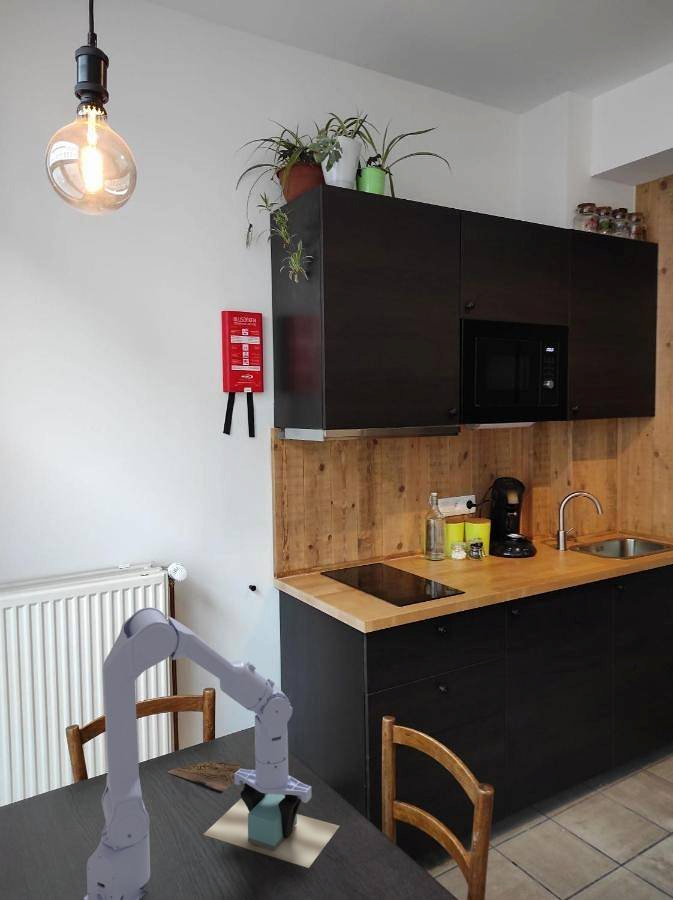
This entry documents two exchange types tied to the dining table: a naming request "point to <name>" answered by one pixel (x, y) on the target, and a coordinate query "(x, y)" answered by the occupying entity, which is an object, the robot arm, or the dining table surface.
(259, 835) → the block
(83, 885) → the dining table surface
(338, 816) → the dining table surface
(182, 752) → the dining table surface
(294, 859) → the birch board
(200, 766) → the wooden fragment
